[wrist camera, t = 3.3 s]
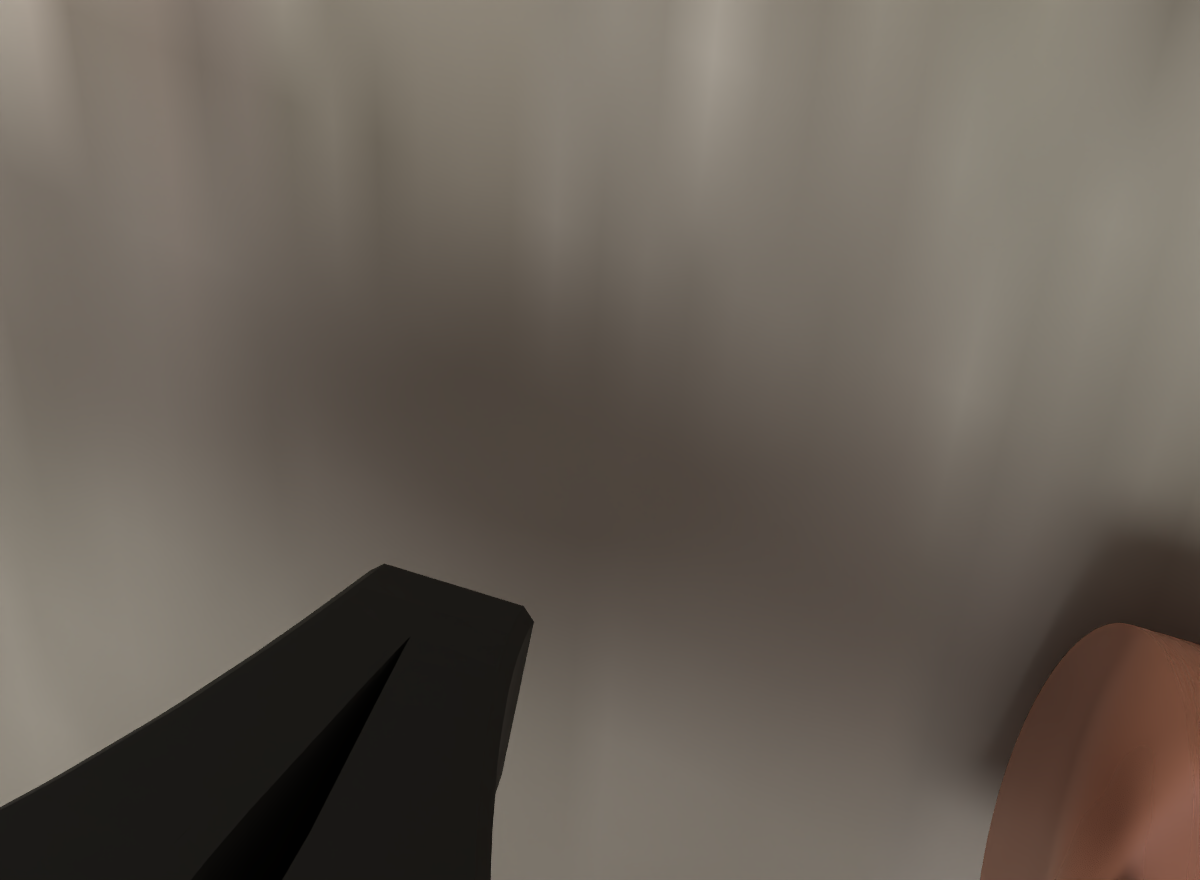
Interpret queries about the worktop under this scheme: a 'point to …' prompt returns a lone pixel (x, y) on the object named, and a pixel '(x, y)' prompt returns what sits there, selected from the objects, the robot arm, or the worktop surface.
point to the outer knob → (1106, 766)
